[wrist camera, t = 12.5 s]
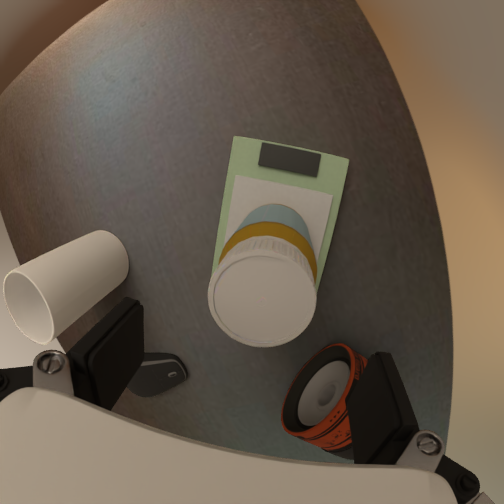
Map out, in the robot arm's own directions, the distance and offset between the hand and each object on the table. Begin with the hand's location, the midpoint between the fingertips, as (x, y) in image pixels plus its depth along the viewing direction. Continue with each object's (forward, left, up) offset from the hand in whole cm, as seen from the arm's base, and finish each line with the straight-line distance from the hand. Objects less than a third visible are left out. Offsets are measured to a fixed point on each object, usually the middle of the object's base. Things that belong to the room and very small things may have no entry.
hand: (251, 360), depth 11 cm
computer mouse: (+26, -14, -24) cm, 38 cm away
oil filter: (+19, +14, -24) cm, 34 cm away
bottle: (0, 0, -21) cm, 21 cm away
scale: (-1, 0, -24) cm, 24 cm away
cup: (+9, -22, -24) cm, 34 cm away
